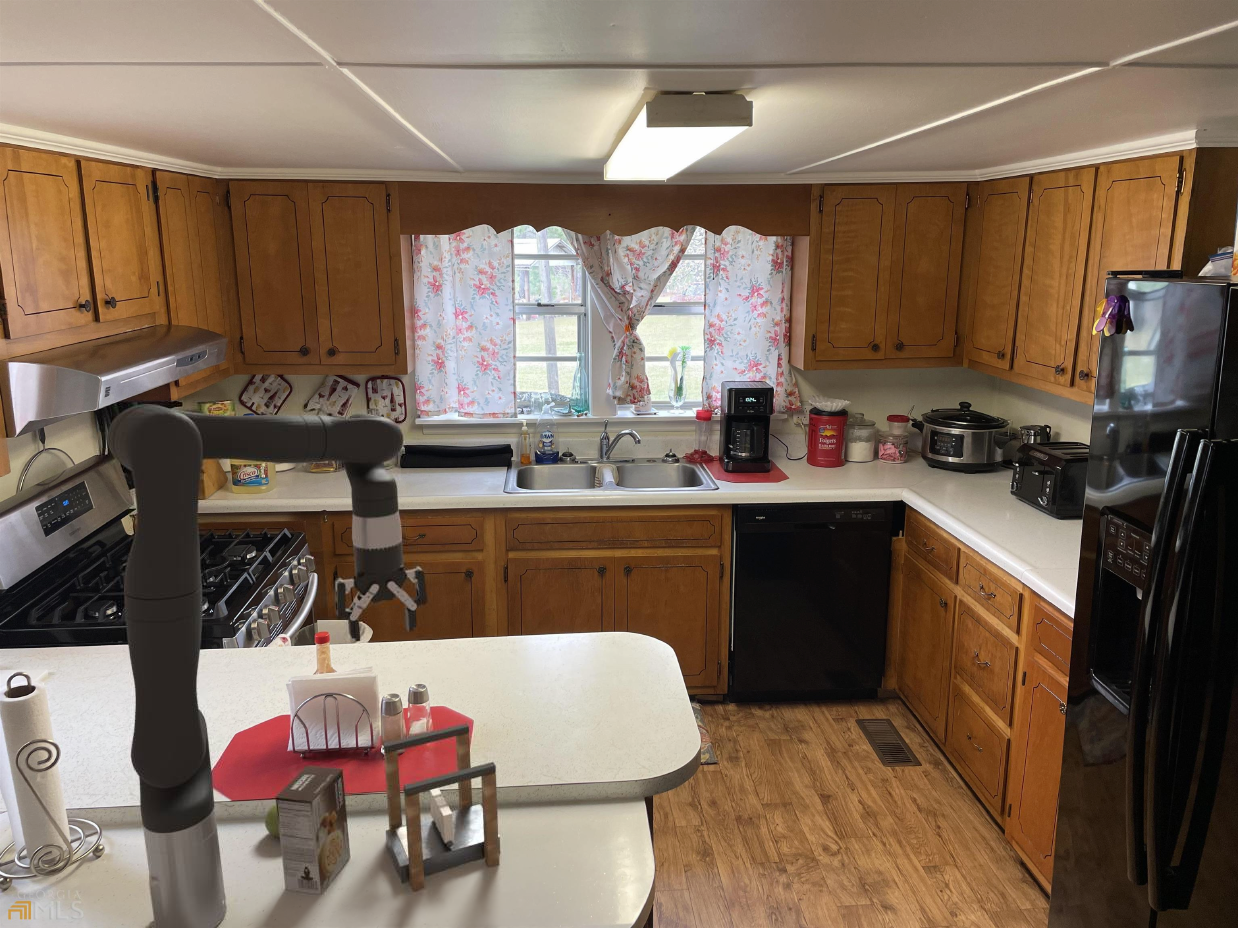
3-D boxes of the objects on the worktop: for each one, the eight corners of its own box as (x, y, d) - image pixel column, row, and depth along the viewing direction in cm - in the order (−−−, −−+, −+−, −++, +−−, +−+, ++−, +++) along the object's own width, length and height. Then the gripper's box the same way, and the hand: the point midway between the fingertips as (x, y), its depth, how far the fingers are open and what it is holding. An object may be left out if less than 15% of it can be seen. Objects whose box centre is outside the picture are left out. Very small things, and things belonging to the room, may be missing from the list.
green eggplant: (282, 791, 153) (330, 812, 150) (280, 817, 154) (328, 838, 151) (258, 809, 148) (308, 831, 145) (256, 836, 149) (306, 858, 146)
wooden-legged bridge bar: (385, 753, 145) (384, 746, 144) (383, 749, 146) (383, 742, 146) (469, 732, 151) (468, 726, 151) (467, 729, 152) (466, 723, 152)
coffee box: (315, 852, 145) (307, 762, 142) (351, 857, 144) (344, 767, 141) (283, 890, 137) (274, 796, 133) (322, 896, 135) (313, 800, 132)
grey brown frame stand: (412, 891, 136) (407, 797, 133) (389, 835, 150) (383, 748, 146) (499, 864, 142) (495, 773, 139) (469, 812, 156) (465, 728, 152)
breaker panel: (401, 883, 138) (400, 865, 137) (386, 846, 147) (385, 829, 146) (500, 852, 145) (499, 835, 144) (480, 819, 154) (480, 803, 153)
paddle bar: (445, 848, 141) (444, 816, 140) (430, 817, 149) (428, 787, 148) (454, 846, 142) (453, 814, 140) (438, 815, 149) (437, 785, 148)
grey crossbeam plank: (405, 796, 133) (405, 789, 133) (403, 792, 134) (403, 784, 134) (495, 772, 139) (495, 765, 139) (493, 768, 140) (493, 761, 140)
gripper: (335, 552, 136) (343, 652, 140) (428, 539, 142) (433, 634, 146) (327, 539, 143) (334, 634, 146) (416, 527, 149) (421, 619, 153)
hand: (383, 634), depth 146 cm, fingers open, 8 cm apart
